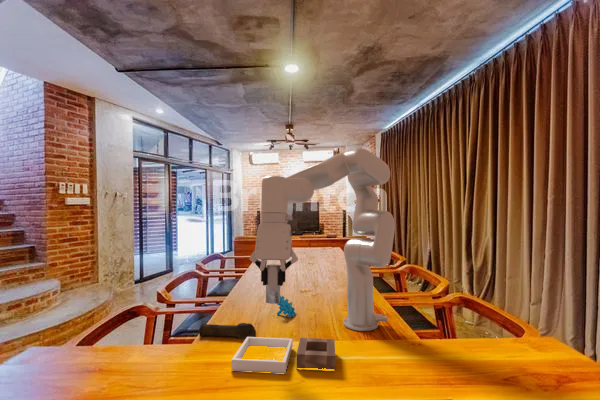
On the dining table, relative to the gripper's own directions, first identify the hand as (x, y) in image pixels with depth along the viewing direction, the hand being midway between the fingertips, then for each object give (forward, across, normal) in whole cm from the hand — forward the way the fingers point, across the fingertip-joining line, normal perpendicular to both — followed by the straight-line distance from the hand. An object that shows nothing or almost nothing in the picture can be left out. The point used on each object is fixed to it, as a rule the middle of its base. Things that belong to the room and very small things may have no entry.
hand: (273, 283), depth 79 cm
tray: (+21, +2, 0) cm, 21 cm away
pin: (+5, 0, 0) cm, 5 cm away
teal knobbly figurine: (+21, +1, -36) cm, 42 cm away
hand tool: (+21, +17, -15) cm, 31 cm away
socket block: (+21, -12, -1) cm, 24 cm away
